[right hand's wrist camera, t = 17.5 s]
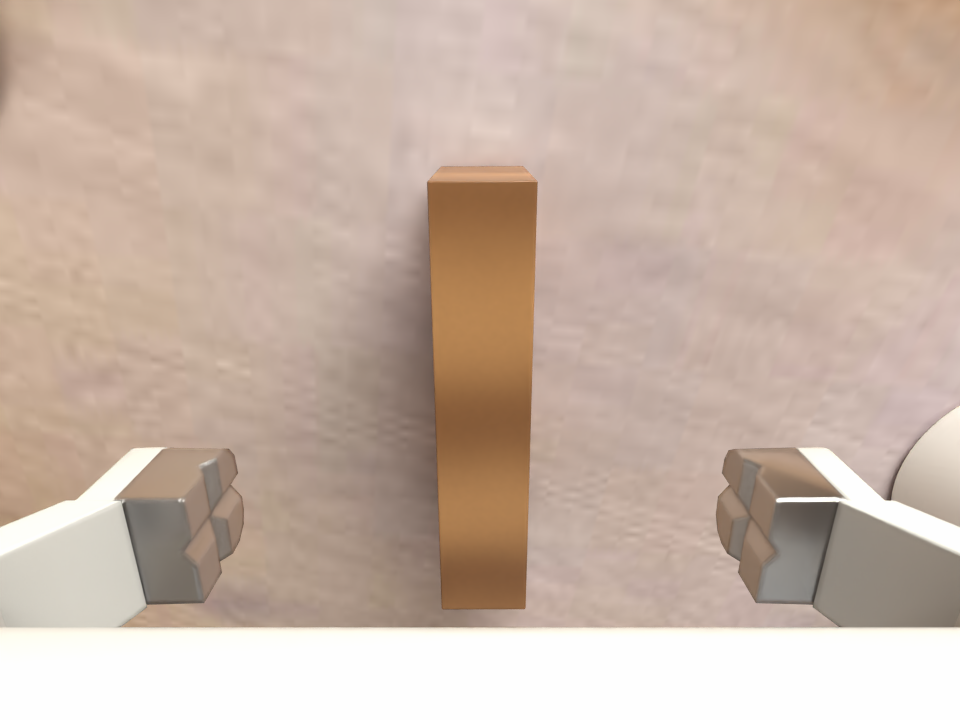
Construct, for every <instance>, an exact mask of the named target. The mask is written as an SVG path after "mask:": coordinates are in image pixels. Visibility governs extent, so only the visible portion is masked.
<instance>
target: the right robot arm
mask: <svg viewBox="0 0 960 720" xmlns="http://www.w3.org/2000/svg"><path fill="white" fill-rule="evenodd" d="M237 474H238V471H237V466H236V461H235V456H234V454H233V453H232V452H231V451H230V450H229V449H210V448H166V447H150V448H134V449H131V450H130V451H129V452H128V453H127V454H126V455H125V456H123V457H122V458H121V459H120V460H119V461H118V462H117V463H116V464H115V465H114V466H113V467H111V468H110V469H109V470H108V471H107V472H106V473H105V474H104V475H103V476H102V477H101V478H99V479H98V480H97V481H96V482H95V483H94V484H93V485H92V486H91V487H90V488H89V489H88V490H86V491H85V492H84V493H83V494H82V495H81V496H80V497H79V498H78V499H77V500H75V501H63V502H61V503H58V504H56V505H53V506H51V507H48V508H46V509H43V510H41V511H38V512H36V513H33V514H31V515H29V516H26V517H24V518H21V519H19V520H16V521H14V522H11V523H9V524H6V525H4V526H2V527H0V720H960V406H958V407H956V408H955V409H953V410H952V411H950V412H949V413H948V414H946V415H945V416H943V417H942V418H941V419H940V420H939V421H937V422H936V423H935V424H934V425H933V426H932V427H931V428H930V429H928V430H927V431H926V433H925V434H924V435H923V436H922V437H921V438H920V439H919V440H918V441H917V443H916V444H915V445H914V446H913V448H912V449H911V451H910V452H909V454H908V455H907V457H906V458H905V460H904V462H903V463H902V465H901V468H900V470H899V472H898V474H897V477H896V480H895V483H894V486H893V490H892V496H891V501H885V500H883V499H882V498H881V497H880V496H879V495H878V494H877V493H876V492H875V491H874V490H873V489H871V488H870V487H869V486H868V485H867V484H866V483H865V482H864V481H863V480H862V479H861V478H860V477H858V476H857V475H856V474H855V473H854V472H853V471H852V470H851V469H850V468H849V467H848V466H847V465H845V464H844V463H843V462H842V461H841V460H840V459H839V458H838V457H837V456H836V455H835V454H834V453H832V452H831V451H830V450H829V449H826V448H823V447H808V448H760V449H733V450H729V451H728V453H727V455H726V457H725V459H724V465H723V470H722V474H723V475H724V477H725V478H726V480H727V481H728V483H729V486H728V487H727V488H726V489H725V490H724V491H723V492H722V493H721V494H720V495H719V496H718V502H717V510H716V520H717V531H718V534H719V537H720V540H721V543H722V545H723V547H724V549H725V550H726V552H727V554H729V555H731V556H732V557H734V558H735V559H737V560H739V561H740V565H739V571H738V573H739V575H740V577H741V578H742V580H743V582H744V583H745V585H746V587H747V588H748V590H749V592H750V594H751V595H752V597H753V599H754V600H755V602H756V603H774V604H811V605H813V608H815V609H816V610H818V611H819V612H820V613H822V614H823V615H824V616H826V617H827V618H828V619H830V620H831V621H832V622H834V623H835V624H836V625H838V626H839V627H121V626H123V625H124V624H125V623H127V622H128V621H129V620H131V619H132V618H133V617H135V616H136V615H137V614H139V613H140V612H141V611H143V610H144V609H145V608H147V605H149V604H185V603H204V602H205V601H206V599H207V597H208V595H209V594H210V592H211V590H212V589H213V587H214V585H215V583H216V582H217V580H218V578H219V577H220V575H221V573H222V571H221V565H220V561H221V560H223V559H225V558H226V557H228V556H229V555H231V554H233V552H234V550H235V548H236V547H237V545H238V543H239V541H240V537H241V533H242V528H243V524H244V508H243V501H242V496H241V495H240V494H239V493H238V492H237V491H236V490H235V489H234V488H233V487H232V486H231V483H232V481H233V480H234V478H235V477H236V475H237Z"/></svg>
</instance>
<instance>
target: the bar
mask: <svg viewBox="0 0 960 720" xmlns="http://www.w3.org/2000/svg"><path fill="white" fill-rule="evenodd" d="M427 190H428V219H429V249H430V278H431V307H432V336H433V366H434V395H435V424H436V453H437V483H438V512H439V541H440V570H441V599H442V609H525V606H526V571H527V535H528V500H529V464H530V429H531V393H532V358H533V322H534V286H535V251H536V215H537V180H536V179H535V178H534V177H533V176H532V175H531V174H530V173H529V172H528V171H527V170H526V169H525V168H524V167H523V166H482V167H440V169H439V170H438V171H437V172H436V173H435V174H434V175H433V176H432V177H431V178H430V179H429V181H428V182H427Z"/></svg>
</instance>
